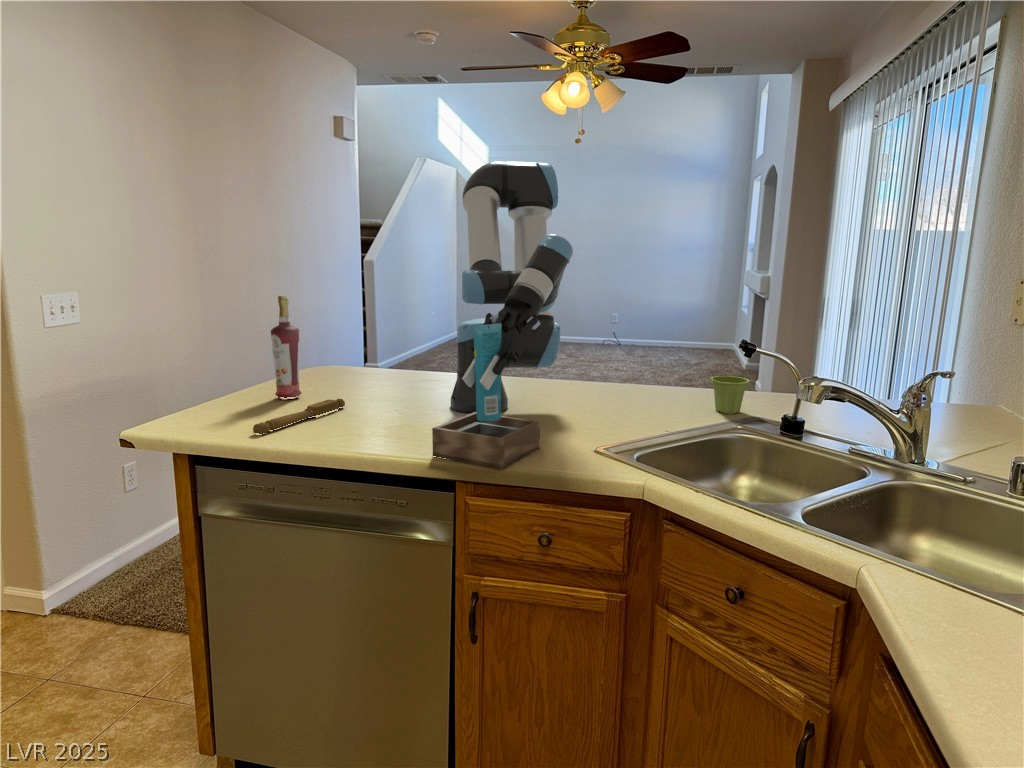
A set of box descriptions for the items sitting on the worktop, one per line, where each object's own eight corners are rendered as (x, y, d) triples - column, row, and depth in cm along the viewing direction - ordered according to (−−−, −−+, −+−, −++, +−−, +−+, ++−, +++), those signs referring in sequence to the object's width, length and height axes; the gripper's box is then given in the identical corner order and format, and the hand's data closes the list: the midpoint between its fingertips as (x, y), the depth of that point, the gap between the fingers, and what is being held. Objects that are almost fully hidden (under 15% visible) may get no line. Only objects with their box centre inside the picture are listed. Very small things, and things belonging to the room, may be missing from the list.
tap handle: (251, 423, 150) (337, 396, 177) (252, 436, 151) (338, 408, 178) (261, 424, 149) (347, 397, 176) (262, 438, 150) (347, 409, 177)
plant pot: (748, 417, 172) (751, 383, 171) (710, 414, 174) (712, 381, 173) (744, 408, 181) (746, 376, 180) (707, 406, 183) (709, 375, 182)
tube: (491, 414, 141) (491, 322, 137) (509, 417, 138) (509, 323, 134) (466, 420, 135) (466, 324, 132) (484, 424, 132) (484, 326, 129)
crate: (432, 456, 136) (432, 428, 135) (475, 438, 150) (475, 411, 149) (501, 470, 129) (501, 439, 128) (539, 449, 143) (540, 421, 141)
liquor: (308, 397, 188) (303, 296, 182) (286, 402, 182) (280, 297, 176) (290, 394, 192) (285, 294, 186) (268, 398, 186) (262, 296, 180)
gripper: (568, 310, 139) (517, 401, 130) (505, 305, 150) (453, 390, 140) (554, 284, 134) (499, 378, 125) (489, 281, 145) (434, 367, 135)
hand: (475, 384), depth 132 cm, fingers closed on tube, 4 cm apart
